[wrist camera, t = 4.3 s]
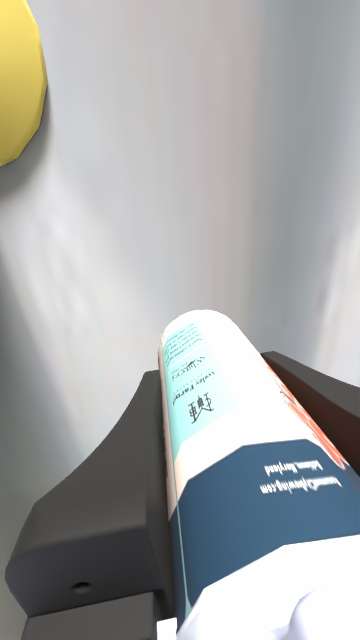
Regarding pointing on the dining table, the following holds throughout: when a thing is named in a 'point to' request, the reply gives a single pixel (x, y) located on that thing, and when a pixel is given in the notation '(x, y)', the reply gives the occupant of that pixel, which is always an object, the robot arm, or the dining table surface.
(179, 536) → the beer can
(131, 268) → the dining table surface
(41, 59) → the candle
